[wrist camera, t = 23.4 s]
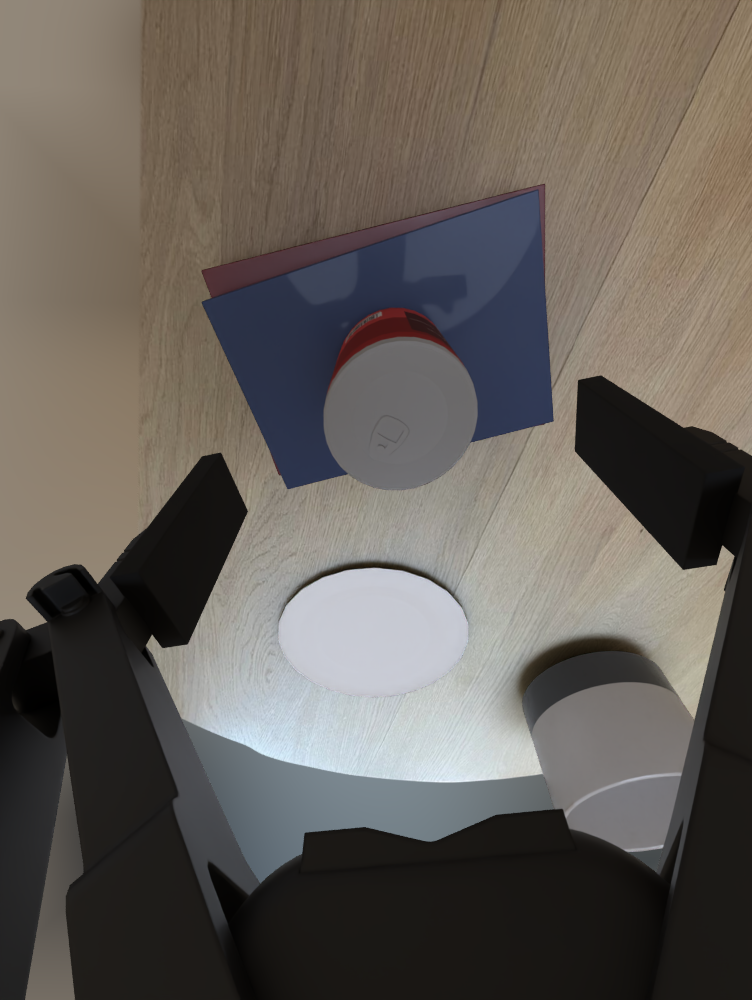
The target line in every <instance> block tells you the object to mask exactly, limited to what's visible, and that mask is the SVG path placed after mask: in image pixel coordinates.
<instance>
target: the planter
mask: <svg viewBox="0 0 752 1000" xmlns="http://www.w3.org/2000/svg"><path fill="white" fill-rule="evenodd" d="M522 707H523V712H524V715H525V718H526V721H527V724H528V728H529V731H530V734H531V737H532V740H533V743H534V747H535V750H536V753H537V756H538V759H539V763H540V766H541V769H542V772H543V775H544V779H545V781H546V785H547V788H548V791H549V794H550V798H551V801H552V804H553V807H554V809H563V811H564V814H565V817H566V820H567V823H568V826H569V829H573V830H577V831H582V832H585V833H587V834H590V835H593V836H596V837H599V838H601V839H603V840H605V841H607V842H610V843H612V844H614V845H616V846H618V847H620V848H621V849H623V850H625V851H626V852H632V851H633V852H634V851H645V850H653V849H659V848H663V846H664V843H665V839H666V836H667V832H668V829H669V825H670V821H671V817H672V813H673V809H674V805H675V800H676V796H677V792H678V788H679V784H680V779H681V775H682V771H683V767H684V763H685V758H686V754H687V750H688V746H689V742H690V737H691V733H692V729H693V725H694V721H695V720H694V719H693V717H692V716H691V714H690V713H689V711H688V710H687V708H686V707H685V705H684V704H683V702H682V701H681V699H680V698H679V696H678V695H677V693H676V692H675V690H674V689H673V687H672V686H671V684H670V682H669V681H668V679H667V678H666V676H665V675H664V673H663V672H662V670H661V669H660V668H659V667H658V666H657V665H656V664H655V663H654V662H653V661H651V660H649V659H648V658H646V657H643V656H641V655H637V654H634V653H629V652H621V651H603V652H594V653H588V654H584V655H580V656H576V657H573V658H570V659H567V660H564V661H562V662H560V663H558V664H556V665H554V666H552V667H550V668H549V669H547V670H545V671H544V672H543V673H541V674H540V675H539V676H538V677H536V678H535V679H534V680H533V681H532V682H531V684H530V685H529V686H528V688H527V689H526V691H525V693H524V696H523V701H522Z"/></svg>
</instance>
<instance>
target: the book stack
mask: <svg viewBox="0 0 752 1000" xmlns="http://www.w3.org/2000/svg"><path fill="white" fill-rule="evenodd" d="M202 274H203V276H204V279H205V282H206V284H207V287H208V289H209V292H210V295H211V297H212V298H211V299H208V300H205V301H202V305H203V307H204V309H205V311H206V313H207V315H208V318H209V320H210V322H211V324H212V326H213V328H214V331H215V333H216V335H217V337H218V339H219V341H220V344H221V346H222V348H223V350H224V352H225V354H226V357H227V359H228V361H229V363H230V365H231V367H232V370H233V372H234V374H235V376H236V378H237V380H238V383H239V385H240V387H241V389H242V391H243V393H244V396H245V398H246V400H247V402H248V404H249V407H250V409H251V411H252V413H253V415H254V417H255V420H256V422H257V424H258V426H259V428H260V430H261V433H262V435H263V437H264V439H265V441H266V443H267V446H268V448H269V450H270V453H271V455H272V458H273V461H274V463H275V466H276V469H277V471H278V474H279V475H281V476H282V478H283V480H284V482H285V485H286V487H287V489H291V488H295V487H299V486H303V485H306V484H310V483H314V482H318V481H322V480H326V479H330V478H334V477H338V476H342V475H346V474H348V473H347V472H346V471H345V470H344V469H342V468H341V467H340V465H339V464H338V463H337V461H336V460H335V458H334V457H333V456H332V453H331V451H330V449H329V447H328V444H327V441H326V437H325V432H324V405H325V400H326V395H327V391H328V387H329V384H330V381H331V378H332V375H333V371H334V368H335V365H336V362H337V359H338V356H339V353H340V350H341V348H342V345H343V343H344V340H345V339H346V337H347V336H348V334H349V332H350V331H351V330H352V329H353V328H354V327H355V325H356V324H357V323H358V322H359V321H361V320H362V319H364V318H365V317H367V316H368V315H370V314H372V313H374V312H377V311H379V310H383V309H388V308H405V309H409V310H413V311H416V312H418V313H420V314H422V315H424V316H425V317H426V318H428V319H429V320H430V321H431V322H432V323H433V324H434V325H435V326H436V328H437V329H438V330H439V331H440V333H441V334H442V335H443V337H444V338H445V340H446V341H447V342H448V344H449V345H450V346H451V348H452V349H453V350H454V352H455V353H456V355H457V356H458V357H459V359H460V360H461V361H462V363H463V365H464V366H465V368H466V369H467V371H468V373H469V376H470V378H471V380H472V382H473V385H474V389H475V393H476V398H477V409H478V417H477V422H476V427H475V432H474V434H473V437H472V439H471V442H475V441H478V440H482V439H486V438H490V437H494V436H498V435H502V434H506V433H510V432H514V431H518V430H521V429H525V428H529V427H533V426H539V425H544V424H545V423H549V422H553V421H554V420H553V404H552V389H551V373H550V358H549V343H548V327H547V312H546V296H545V184H541V185H538V186H534V187H530V188H526V189H522V190H518V191H514V192H510V193H506V194H502V195H498V196H494V197H490V198H486V199H482V200H478V201H474V202H470V203H466V204H462V205H458V206H454V207H450V208H446V209H442V210H438V211H434V212H430V213H426V214H423V215H419V216H415V217H411V218H407V219H403V220H399V221H395V222H391V223H387V224H383V225H379V226H375V227H371V228H367V229H363V230H359V231H355V232H351V233H347V234H343V235H339V236H335V237H331V238H327V239H323V240H319V241H315V242H311V243H308V244H304V245H300V246H296V247H292V248H288V249H284V250H280V251H276V252H272V253H268V254H264V255H260V256H256V257H252V258H248V259H244V260H240V261H236V262H232V263H228V264H224V265H220V266H216V267H212V268H208V269H204V270H202ZM471 442H470V443H471Z"/></svg>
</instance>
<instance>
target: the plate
mask: <svg viewBox="0 0 752 1000" xmlns="http://www.w3.org/2000/svg"><path fill="white" fill-rule="evenodd" d="M278 640H279V643H280V646H281V649H282V652H283V655H284V656H285V658H286V659H287V660H288V661H289V663H290V664H291V665H292V667H293V668H294V669H295V670H296V671H297V672H299V673H300V674H301V675H303V676H304V677H305V678H307V679H308V680H309V681H311V682H313V683H315V684H317V685H319V686H322V687H324V688H326V689H328V690H331V691H335V692H338V693H342V694H346V695H350V696H361V697H387V696H396V695H400V694H405V693H409V692H413V691H416V690H418V689H421V688H423V687H425V686H428V685H430V684H432V683H434V682H436V681H437V680H439V679H440V678H441V677H443V676H444V675H446V674H447V673H448V672H450V671H451V670H452V669H453V667H454V666H455V665H456V664H457V663H458V661H459V660H460V659H461V658H462V656H463V653H464V651H465V648H466V646H467V643H468V622H467V619H466V617H465V614H464V612H463V609H462V607H461V605H460V604H459V603H458V602H457V601H456V600H455V599H454V598H453V596H452V595H451V594H450V593H449V592H448V591H447V590H445V589H444V588H442V587H441V586H439V585H437V584H436V583H434V582H433V581H431V580H430V579H428V578H425V577H422V576H419V575H416V574H413V573H410V572H407V571H404V570H399V569H390V568H381V567H367V568H355V569H346V570H343V571H340V572H337V573H333V574H330V575H327V576H323V577H321V578H319V579H318V580H316V581H314V582H312V583H311V584H309V585H307V586H306V587H304V588H302V589H301V590H300V591H299V592H298V593H297V594H296V595H295V596H294V597H293V598H292V599H291V600H290V601H289V602H288V604H287V605H286V607H285V609H284V612H283V614H282V616H281V618H280V620H279V631H278Z"/></svg>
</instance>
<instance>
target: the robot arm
mask: <svg viewBox="0 0 752 1000" xmlns="http://www.w3.org/2000/svg"><path fill="white" fill-rule="evenodd" d="M575 452H576V453H577V454H578V455H579V456H580V457H581V458H582V459H583V461H584V462H585V463H586V464H587V465H588V466H589V467H590V468H591V469H592V470H593V472H594V473H595V474H596V475H597V476H598V477H599V478H600V479H601V480H602V481H603V482H604V484H605V485H606V486H607V487H608V488H609V489H610V490H611V491H612V492H613V493H614V495H615V496H616V497H617V498H618V499H619V500H620V501H621V502H622V503H623V504H624V505H625V507H626V508H627V509H628V510H629V511H630V512H631V513H632V514H633V515H634V516H635V518H636V519H637V520H638V521H639V522H640V523H641V524H642V525H643V526H644V527H645V529H646V530H647V531H648V532H649V533H650V534H651V535H652V536H653V537H654V538H655V539H656V541H657V542H658V543H659V544H660V545H661V546H662V547H663V548H664V549H665V550H666V552H667V553H668V554H669V555H670V556H671V557H672V558H673V559H674V560H675V561H676V562H677V564H678V565H679V566H680V567H681V568H682V569H683V570H685V569H692V568H699V567H705V566H712V565H717V561H718V558H719V554H720V551H721V548H722V545H723V546H724V547H725V548H726V549H727V550H729V551H730V552H731V553H732V554H733V555H734V560H733V563H732V566H731V569H730V572H729V575H728V578H727V581H726V585H725V588H724V591H725V595H724V599H723V603H722V607H721V611H720V616H719V620H718V624H717V628H716V632H715V637H714V641H713V645H712V649H711V653H710V658H709V662H708V666H707V670H706V674H705V679H704V683H703V687H702V691H701V695H700V700H699V704H698V708H697V712H696V716H695V721H694V725H693V729H692V733H691V737H690V742H689V746H688V750H687V754H686V758H685V763H684V767H683V771H682V775H681V779H680V784H679V788H678V792H677V796H676V800H675V805H674V809H673V813H672V817H671V821H670V825H669V829H668V832H667V836H666V839H665V843H664V846H663V849H662V853H661V857H660V860H659V864H658V868H657V872H655V871H654V870H652V869H651V868H650V867H648V866H647V865H646V864H644V863H643V862H642V861H640V860H639V859H637V858H636V857H634V856H633V855H631V854H629V853H628V852H626V851H625V850H623V849H621V848H620V847H618V846H616V845H614V844H612V843H610V842H607V841H605V840H603V839H601V838H599V837H596V836H593V835H590V834H587V833H585V832H582V831H577V830H573V829H569V826H568V823H567V820H566V817H565V814H564V811H563V809H553V810H543V811H533V812H522V813H511V814H501V815H495V816H492V817H490V818H488V819H486V820H483V821H481V822H479V823H476V824H474V825H472V826H469V827H467V828H465V829H462V830H461V831H458V832H455V833H453V834H451V835H449V836H446V837H444V838H442V839H439V840H437V841H433V842H426V841H421V840H417V839H413V838H408V837H404V836H400V835H395V834H391V833H387V832H383V831H379V830H375V829H370V828H366V827H362V828H351V829H340V830H329V831H319V832H309V833H305V835H304V844H303V852H302V854H301V855H299V856H297V857H295V858H293V859H292V860H290V861H288V862H287V863H285V864H284V865H282V866H281V867H279V868H278V869H277V870H275V871H274V872H273V873H272V874H270V875H269V876H268V877H267V878H266V879H265V880H264V881H263V882H262V883H261V884H260V883H259V881H258V879H257V878H256V876H255V875H254V873H253V872H252V870H251V868H250V867H249V865H248V864H247V862H246V860H245V858H244V856H243V854H242V852H241V849H240V847H239V845H238V843H237V841H236V838H235V836H234V834H233V832H232V829H231V827H230V825H229V823H228V821H227V819H226V816H225V814H224V812H223V810H222V807H221V805H220V803H219V801H218V799H217V796H216V794H215V792H214V790H213V788H212V785H211V783H210V781H209V779H208V777H207V774H206V772H205V770H204V768H203V766H202V763H201V761H200V759H199V757H198V755H197V752H196V750H195V748H194V746H193V743H192V741H191V739H190V737H189V735H188V732H187V730H186V728H185V726H184V724H183V722H182V719H181V717H180V715H179V712H178V710H177V708H176V706H175V704H174V701H173V699H172V697H171V695H170V693H169V690H168V688H167V686H166V684H165V682H164V679H163V677H162V675H161V673H160V671H159V668H158V666H157V664H156V662H155V660H154V657H153V655H152V653H151V652H150V651H149V650H148V648H147V647H146V644H147V643H148V641H149V639H150V637H151V635H153V636H154V637H155V639H156V640H157V641H158V643H159V644H160V645H161V647H162V648H167V647H173V646H180V645H187V644H188V643H189V640H190V638H191V636H192V634H193V632H194V629H195V627H196V625H197V623H198V620H199V618H200V616H201V614H202V612H203V609H204V607H205V605H206V603H207V601H208V598H209V596H210V594H211V592H212V590H213V587H214V585H215V583H216V581H217V579H218V576H219V574H220V572H221V570H222V568H223V565H224V563H225V561H226V559H227V557H228V554H229V552H230V550H231V548H232V545H233V543H234V541H235V539H236V537H237V534H238V532H239V530H240V528H241V526H242V523H243V521H244V519H245V517H246V515H247V512H248V511H247V508H246V506H245V504H244V502H243V500H242V497H241V495H240V493H239V491H238V489H237V486H236V484H235V482H234V480H233V478H232V476H231V473H230V471H229V469H228V467H227V465H226V462H225V460H224V458H223V456H222V454H221V453H217V454H212V455H207V456H202V457H201V459H200V460H199V461H198V463H197V464H196V465H195V466H194V468H193V469H192V470H191V472H190V473H189V474H188V476H187V477H186V478H185V479H184V481H183V482H182V483H181V485H180V486H179V487H178V489H177V490H176V491H175V492H174V494H173V495H172V496H171V498H170V499H169V500H168V502H167V503H166V504H165V505H164V507H163V508H162V509H161V511H160V512H159V513H158V515H157V516H156V517H155V519H154V520H153V521H152V522H151V524H150V525H149V526H148V528H147V529H145V530H144V531H143V532H142V533H140V534H139V535H138V536H137V537H135V538H134V539H133V540H132V541H131V542H130V544H129V545H128V546H127V547H126V549H125V550H124V553H122V554H121V555H120V556H119V558H118V559H117V562H115V563H114V564H113V565H112V567H111V568H110V569H109V570H108V572H107V573H106V574H105V576H104V577H103V578H102V579H101V581H100V582H99V583H98V584H97V583H96V581H95V580H94V579H93V578H92V576H91V575H90V574H89V572H88V571H87V570H86V569H85V567H83V566H82V565H76V564H74V565H70V566H66V567H63V568H61V569H58V570H56V571H54V572H52V573H50V574H49V575H47V576H45V577H44V578H43V579H41V580H40V581H39V582H37V583H36V584H35V585H34V586H33V587H32V588H31V590H30V591H29V592H28V594H27V597H26V599H27V600H28V601H29V602H30V603H31V604H32V606H33V607H34V608H35V609H36V610H37V611H38V612H39V613H40V614H41V615H42V616H43V617H44V618H45V620H46V621H47V623H44V624H41V625H39V626H36V627H33V628H31V629H28V630H25V629H24V628H23V627H22V626H21V625H20V624H19V623H18V622H17V621H15V620H14V619H7V620H3V621H0V1000H25V996H26V989H27V984H28V978H29V972H30V966H31V960H32V955H33V949H34V943H35V938H36V931H37V926H38V920H39V914H40V908H41V902H42V897H43V891H44V885H45V879H46V873H47V868H48V862H49V856H50V850H51V844H52V838H53V833H54V827H55V821H56V815H57V809H58V803H59V797H60V792H61V786H62V780H63V774H64V768H65V763H66V757H67V756H68V763H69V770H70V777H71V783H72V790H73V797H74V804H75V810H76V816H77V824H78V831H79V837H80V844H81V851H82V857H83V864H84V865H83V866H84V873H83V875H82V876H80V877H79V878H78V879H77V880H76V881H74V882H73V883H72V884H71V885H70V887H69V890H68V892H67V895H66V919H67V927H68V936H69V947H70V956H71V966H72V975H73V983H74V994H75V1000H752V456H751V455H749V454H748V453H746V452H744V451H743V450H738V447H736V446H734V445H733V444H731V443H727V442H726V440H724V439H722V438H721V437H719V436H717V435H716V434H714V433H712V432H709V431H706V430H702V429H699V428H696V427H692V426H691V427H686V428H683V427H681V426H680V425H678V424H677V423H675V422H674V421H672V420H670V419H669V418H667V417H666V416H664V415H663V414H661V413H659V412H658V411H656V410H655V409H653V408H651V407H650V406H648V405H647V404H645V403H644V402H642V401H640V400H639V399H637V398H636V397H634V396H633V395H631V394H629V393H628V392H626V391H625V390H623V389H622V388H620V387H618V386H617V385H615V384H614V383H612V382H611V381H609V380H607V379H606V378H604V377H603V376H596V377H591V378H586V379H581V380H578V392H577V414H576V436H575Z"/></svg>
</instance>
